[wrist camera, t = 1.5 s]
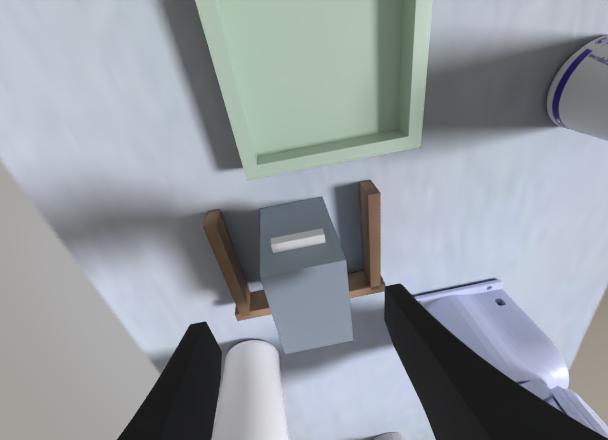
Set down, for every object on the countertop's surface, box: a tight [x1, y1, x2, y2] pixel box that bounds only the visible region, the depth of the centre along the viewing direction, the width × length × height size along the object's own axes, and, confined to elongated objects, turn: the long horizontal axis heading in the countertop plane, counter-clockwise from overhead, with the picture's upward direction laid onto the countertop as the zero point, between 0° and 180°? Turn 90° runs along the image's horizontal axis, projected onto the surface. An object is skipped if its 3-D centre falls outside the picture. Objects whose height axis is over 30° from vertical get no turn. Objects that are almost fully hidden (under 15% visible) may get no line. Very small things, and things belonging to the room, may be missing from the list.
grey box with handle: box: [260, 197, 353, 354], centre depth 19 cm, size 4×8×7 cm, turn 9°
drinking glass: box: [211, 340, 289, 440], centre depth 23 cm, size 7×7×15 cm
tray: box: [195, 0, 433, 180], centre depth 14 cm, size 11×13×2 cm
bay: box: [203, 180, 385, 321], centre depth 22 cm, size 12×9×2 cm
